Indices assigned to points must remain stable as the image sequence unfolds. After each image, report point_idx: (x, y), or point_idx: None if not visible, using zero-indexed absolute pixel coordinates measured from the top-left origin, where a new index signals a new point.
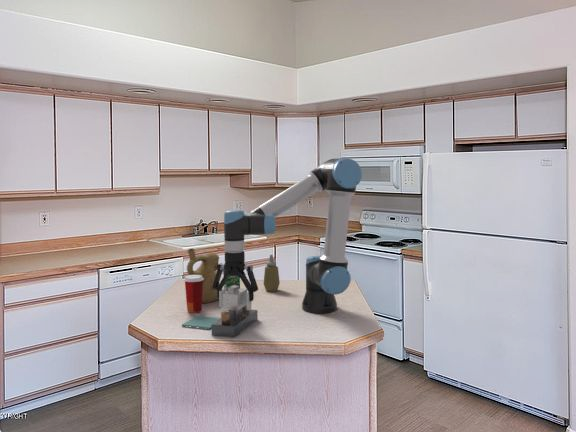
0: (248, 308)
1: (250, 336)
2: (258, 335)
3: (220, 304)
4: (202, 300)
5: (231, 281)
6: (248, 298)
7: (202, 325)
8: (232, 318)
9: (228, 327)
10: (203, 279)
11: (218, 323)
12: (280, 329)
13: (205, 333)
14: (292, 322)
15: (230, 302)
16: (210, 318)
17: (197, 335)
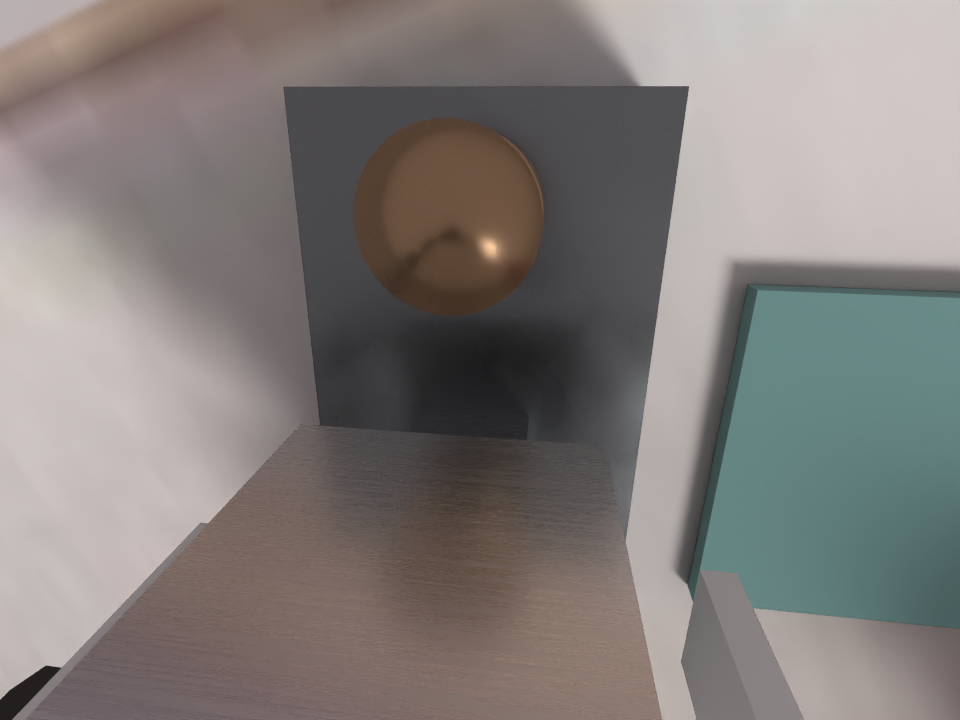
0: (182, 543)
1: (207, 207)
2: (153, 261)
3: (734, 619)
4: None
5: None
6: (24, 712)
7: (883, 342)
8: (468, 416)
9: (380, 89)
10: None
11: (586, 169)
12: (80, 465)
13: (758, 140)
14: (99, 627)
15: (403, 528)
16: (849, 579)
17: (850, 21)
